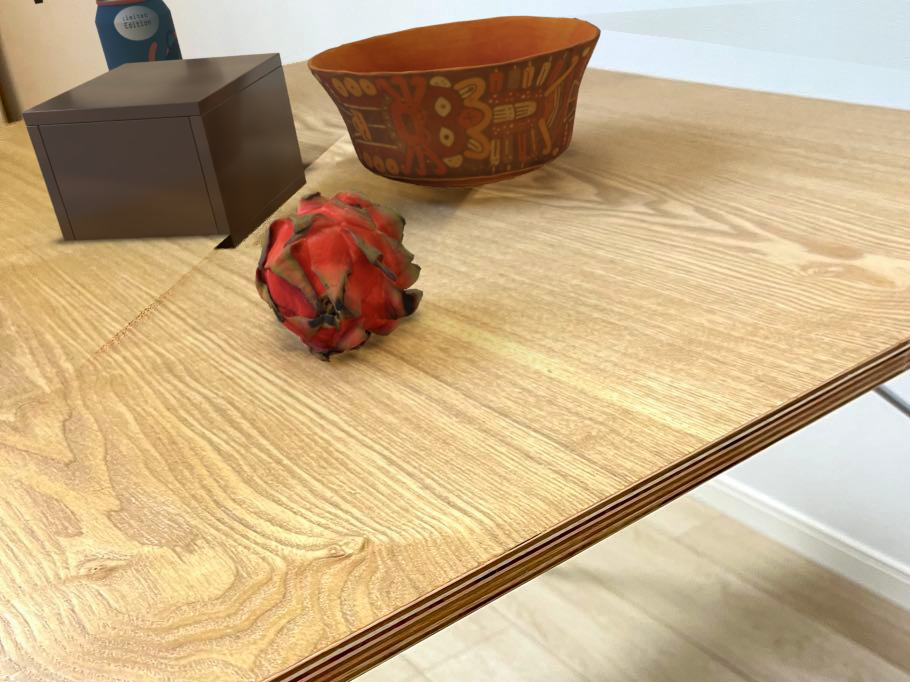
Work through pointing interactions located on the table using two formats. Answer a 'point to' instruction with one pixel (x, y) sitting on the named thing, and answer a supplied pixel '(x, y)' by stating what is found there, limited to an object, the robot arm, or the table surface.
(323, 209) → the dragon fruit
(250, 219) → the cabinet
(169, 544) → the table surface
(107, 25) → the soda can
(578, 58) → the bowl
